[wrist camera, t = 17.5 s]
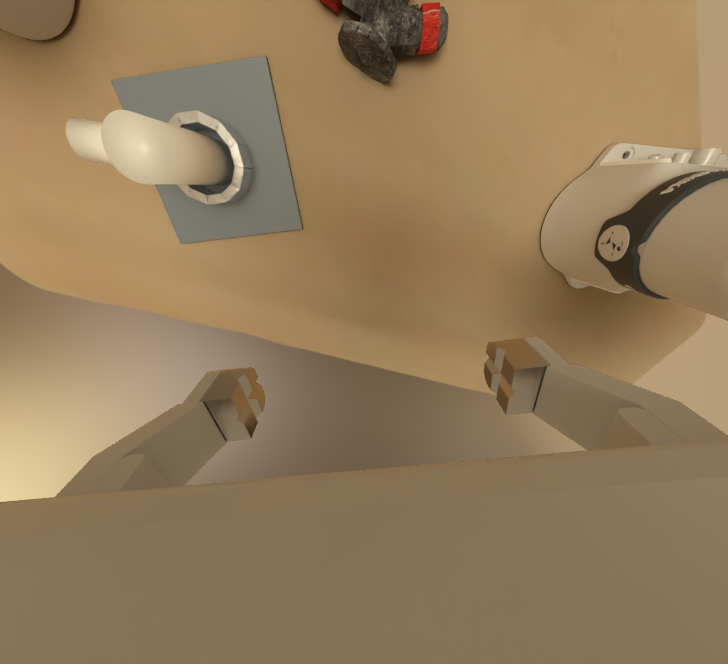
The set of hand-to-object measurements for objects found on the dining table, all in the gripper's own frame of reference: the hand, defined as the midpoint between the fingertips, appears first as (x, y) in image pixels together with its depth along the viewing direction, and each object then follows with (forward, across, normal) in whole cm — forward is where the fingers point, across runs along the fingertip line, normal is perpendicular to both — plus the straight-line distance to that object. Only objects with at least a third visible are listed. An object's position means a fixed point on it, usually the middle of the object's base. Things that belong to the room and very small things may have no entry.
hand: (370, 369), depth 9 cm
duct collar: (+34, -17, +9) cm, 39 cm away
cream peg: (+33, -19, +10) cm, 39 cm away
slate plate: (+34, -17, +9) cm, 39 cm away
